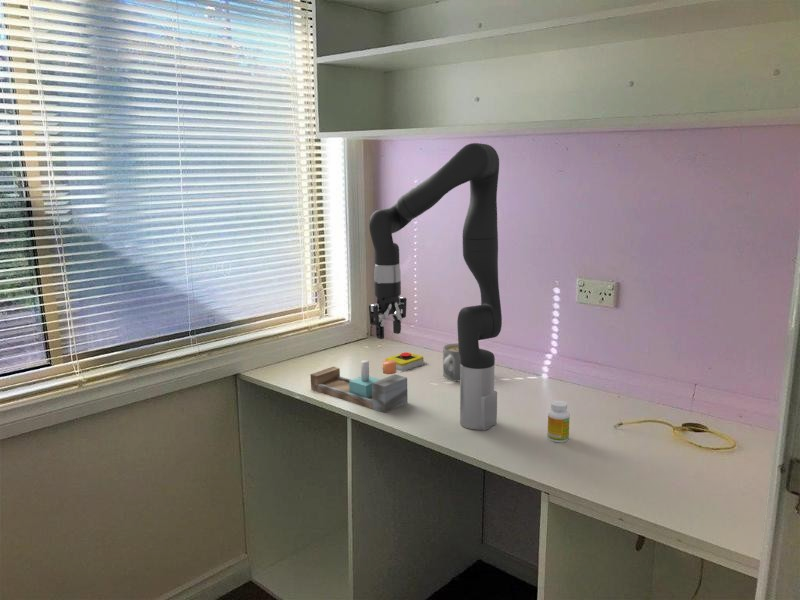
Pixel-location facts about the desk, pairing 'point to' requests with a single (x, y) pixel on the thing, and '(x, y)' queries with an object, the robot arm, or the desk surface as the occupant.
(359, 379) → the carriage
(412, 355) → the emergency button
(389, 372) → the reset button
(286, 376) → the desk surface
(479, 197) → the robot arm
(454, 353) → the coffee mug
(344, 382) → the rail
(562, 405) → the supplement bottle
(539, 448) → the desk surface
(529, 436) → the desk surface
